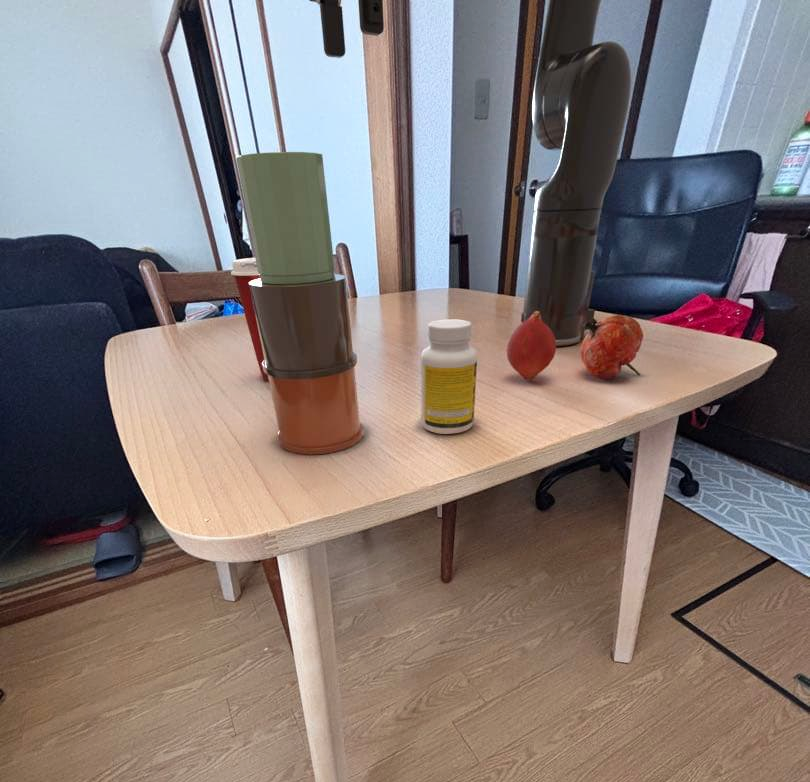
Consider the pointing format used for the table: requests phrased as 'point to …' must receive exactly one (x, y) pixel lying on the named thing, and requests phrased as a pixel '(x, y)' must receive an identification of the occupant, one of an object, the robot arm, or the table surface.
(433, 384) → the supplement bottle
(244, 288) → the paper cup
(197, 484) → the table surface
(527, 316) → the robot arm
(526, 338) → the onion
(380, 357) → the table surface
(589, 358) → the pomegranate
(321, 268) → the green cup
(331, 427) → the cup stack
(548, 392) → the table surface
